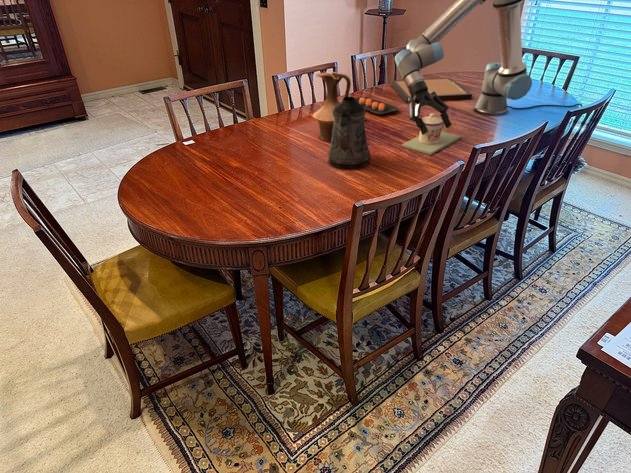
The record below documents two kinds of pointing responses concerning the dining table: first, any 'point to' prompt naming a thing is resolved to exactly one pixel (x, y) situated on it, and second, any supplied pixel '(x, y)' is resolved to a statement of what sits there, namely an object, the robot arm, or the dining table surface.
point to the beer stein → (348, 136)
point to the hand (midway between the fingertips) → (437, 130)
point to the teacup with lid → (431, 129)
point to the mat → (431, 148)
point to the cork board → (436, 89)
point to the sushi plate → (376, 106)
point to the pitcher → (329, 103)
